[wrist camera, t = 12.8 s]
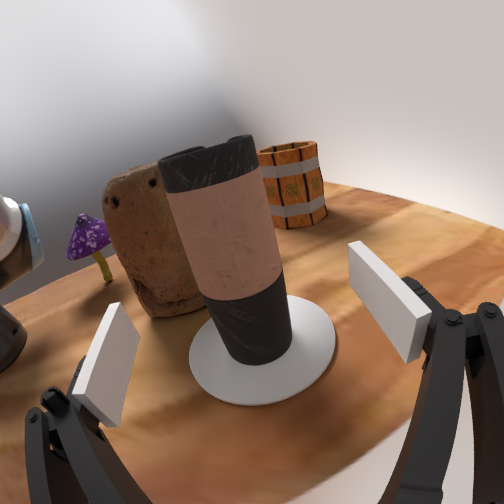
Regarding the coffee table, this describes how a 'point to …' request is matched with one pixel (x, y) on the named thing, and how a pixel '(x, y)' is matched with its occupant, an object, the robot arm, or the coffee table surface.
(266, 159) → the mug
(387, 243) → the coffee table surface
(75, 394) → the robot arm
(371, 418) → the coffee table surface
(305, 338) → the place mat
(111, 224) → the block
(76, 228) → the decorative mushroom
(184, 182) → the travel mug
